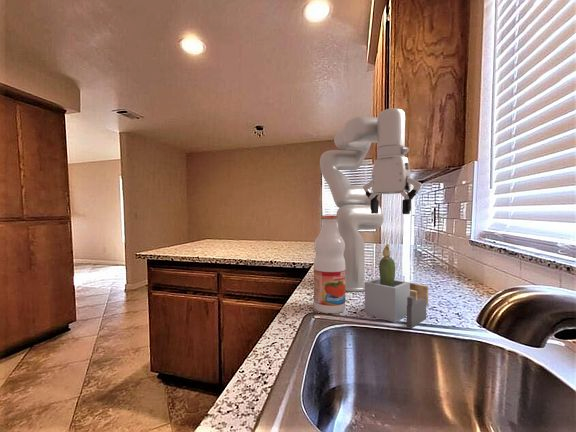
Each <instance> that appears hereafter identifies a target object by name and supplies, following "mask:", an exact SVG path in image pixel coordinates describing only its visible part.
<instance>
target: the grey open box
mask: <svg viewBox="0 0 576 432" xmlns="http://www.w3.org/2000/svg"><path fill="white" fill-rule="evenodd" d="M380 282H381V281H380V277H377V278H373V279H370V280H367V281H364V283H365V291H364V315H369V316H371V317H374V318H378V319H382V320H385V321H388V322H393V323H397V322H398V321H400V320H402V319H404V318H406V317H407V297H409V296H410V283H411V282H409V281H403V280H398V279H394V283H393V287H391V286H386V285H381V284H380Z"/></svg>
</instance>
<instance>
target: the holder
mask: <svg viewBox="0 0 576 432" xmlns="http://www.w3.org/2000/svg"><path fill="white" fill-rule="evenodd" d="M410 296H413V297H415V301H416V300H418V299H420V298H426V307H428V306H429V285H425V284H419V283H414V282H410Z"/></svg>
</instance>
